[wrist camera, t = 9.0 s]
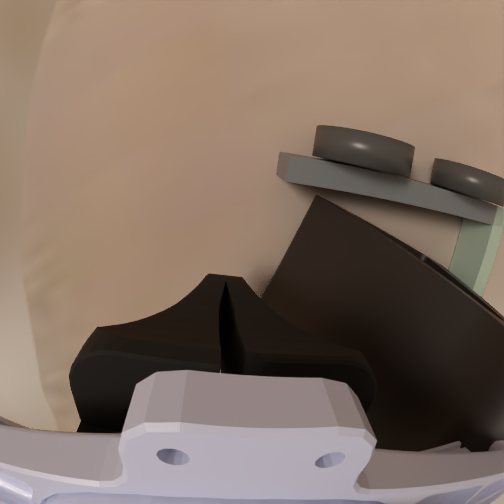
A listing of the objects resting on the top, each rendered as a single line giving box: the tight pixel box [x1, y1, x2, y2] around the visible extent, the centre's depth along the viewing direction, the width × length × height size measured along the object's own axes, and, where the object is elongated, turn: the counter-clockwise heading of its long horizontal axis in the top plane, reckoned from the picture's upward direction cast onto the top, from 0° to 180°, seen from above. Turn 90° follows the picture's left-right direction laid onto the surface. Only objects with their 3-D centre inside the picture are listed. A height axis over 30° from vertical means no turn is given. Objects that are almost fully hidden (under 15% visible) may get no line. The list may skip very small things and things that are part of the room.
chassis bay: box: [277, 125, 504, 297], centre depth 14 cm, size 14×12×4 cm
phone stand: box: [261, 195, 504, 452], centre depth 10 cm, size 9×6×12 cm, turn 64°
